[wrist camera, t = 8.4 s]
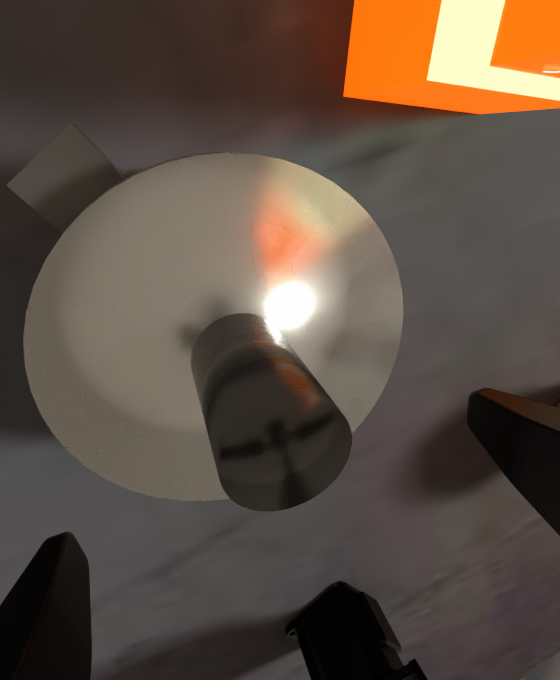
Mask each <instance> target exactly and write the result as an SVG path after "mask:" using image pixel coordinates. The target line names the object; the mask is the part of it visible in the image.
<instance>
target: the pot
mask: <svg viewBox="0 0 560 680" xmlns="http://www.w3.org/2000/svg"><path fill="white" fill-rule="evenodd" d="M124 179H126V177H125V176H124V175H123V174H122V173H121V172H120V171H119V170H118V169H117V168H116V167H115V166H114V165H113V164H112V163H111V162H110V160H109V159H108V158H107V157H106V156H105V155H104V154H103V153H102V152H101V151H100V150H99V149H98V148H97V147H96V146H95V145H94V144H93V142H92V141H91V140H90V139H89V138H88V137H87V136H86V135H85V134H84V133H83V132H82V131H81V130H80V129H79V128H78V127H77V126H76V124H73V123H70V124H69V125H68V126H67V127H66V128H65V129H64V130H63V131H62V132H61V133H60V134H59V135H58V136H57V137H56V138H55V139H54V140H52V141H51V142H50V143H49V144H48V145H47V146H46V147H45V148H44V149H43V150H42V151H41V152H40V153H39V154H38V155H37V156H36V157H35V158H34V159H33V160H32V161H30V162H29V163H28V164H27V165H26V166H25V167H24V168H23V169H22V170H21V171H20V172H19V173H18V174H17V175H16V176H15V177H14V178H13V179H12V180H11V181H10V182H9V183H7V184H6V185H7V186H8V187H9V188H10V189H11V190H12V191H13V192H14V193H16V194H17V195H18V196H19V197H20V198H21V199H22V200H24V201H25V202H26V203H27V204H28V205H29V206H30V207H32V208H33V209H34V210H35V211H36V212H37V213H38V214H40V215H41V216H42V217H43V218H44V219H45V220H46V221H48V222H49V223H50V224H51V225H52V226H53V227H54V228H56V229H57V230H58V231H59V232H60V233H61V234H63V233H64V232H65V230H66V229H67V228H68V226H69V225H70V224H71V223H72V222H73V221H74V220H75V219H76V218H77V217H78V216H79V214H80V213H81V212H82V211H83V210H84V209H85V208H86V207H87V206H88V205H89V204H90V203H92V202H93V201H94V200H95V199H97V198H98V197H99V196H100V195H102V194H103V193H104V192H105V191H106V190H108V189H109V188H110V187H112V186H114V185H115V184H117V183H119V182H120V181H122V180H124ZM358 427H359V426H358ZM358 427H357V428H358ZM357 428H356V429H357ZM356 429H355V430H356Z"/></svg>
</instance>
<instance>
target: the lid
mask: <svg viewBox="0 0 560 680" xmlns="http://www.w3.org/2000/svg"><path fill="white" fill-rule="evenodd" d="M402 323H403V298H402V289H401V283H400V278H399V273H398V269H397V266H396V263H395V261H394V258H393V255H392V252H391V250H390V248H389V246H388V244H387V242H386V240H385V238H384V236H383V234H382V232H381V231H380V229H379V228H378V226H377V225H376V224H375V222H374V221H373V219H372V218H371V217H370V215H369V214H368V213H367V212H366V211H365V210H364V209H363V208H362V207H361V205H360V204H359V203H358V202H357V201H356V200H355V199H354V198H353V197H352V196H350V195H349V194H348V193H346V192H345V191H344V190H343V189H341V188H340V187H339V186H337V185H336V184H335V183H333V182H332V181H330V180H328V179H326V178H325V177H323V176H321V175H319V174H317V173H315V172H314V171H312V170H310V169H307V168H305V167H302V166H299V165H296V164H294V163H291V162H288V161H285V160H281V159H276V158H271V157H266V156H262V155H257V154H248V153H229V152H215V153H204V154H193V155H188V156H184V157H180V158H176V159H171V160H167V161H163V162H161V163H158V164H156V165H153V166H151V167H148V168H146V169H143V170H141V171H138V172H136V173H134V174H132V175H131V176H129V177H127V178H126V179H124V180H122V181H120V182H119V183H117V184H115V185H114V186H112V187H110V188H109V189H108V190H106V191H105V192H104V193H103V194H102V195H100V196H99V197H98V198H97V199H95V200H94V201H93V202H92V203H90V204H89V205H88V206H87V207H86V208H85V209H84V210H83V211H82V212H81V213H80V214H79V216H78V217H77V218H76V219H75V220H74V221H73V222H72V223H71V224H70V225H69V226H68V228H67V229H66V230H65V232H64V233H63V234H62V236H61V237H60V239H59V240H58V242H57V243H56V245H55V246H54V248H53V249H52V251H51V252H50V254H49V255H48V257H47V258H46V260H45V262H44V264H43V266H42V268H41V271H40V273H39V275H38V277H37V279H36V282H35V284H34V286H33V289H32V293H31V297H30V300H29V304H28V308H27V311H26V317H25V327H24V337H23V346H24V361H25V369H26V373H27V378H28V382H29V386H30V390H31V393H32V395H33V398H34V400H35V402H36V405H37V407H38V410H39V412H40V414H41V416H42V417H43V419H44V420H45V422H46V424H47V425H48V427H49V428H50V430H51V432H52V433H53V435H54V436H55V437H56V438H57V439H58V440H59V441H60V443H61V444H62V445H63V446H64V447H65V448H66V450H67V451H68V452H69V453H71V454H72V455H73V456H74V457H75V458H76V459H78V460H79V461H80V462H81V463H82V464H83V465H85V466H86V467H87V468H89V469H91V470H92V471H94V472H95V473H97V474H98V475H100V476H101V477H103V478H105V479H107V480H109V481H111V482H113V483H115V484H117V485H119V486H121V487H124V488H127V489H129V490H132V491H135V492H138V493H141V494H145V495H149V496H154V497H159V498H164V499H172V500H182V501H210V500H219V499H228V498H230V499H231V500H233V501H234V502H235V503H237V504H239V505H241V506H242V507H245V508H248V509H252V510H256V511H278V510H283V509H288V508H291V507H294V506H297V505H300V504H302V503H304V502H306V501H308V500H310V499H312V498H313V497H315V496H316V495H318V494H319V493H321V492H322V491H323V490H325V489H326V488H327V487H328V486H329V485H330V484H331V483H332V482H333V481H334V480H335V479H336V478H337V476H338V475H339V474H340V472H341V471H342V469H343V468H344V466H345V464H346V462H347V460H348V457H349V454H350V451H351V445H352V433H353V432H354V431H355V429H356V428H357V427H358V426H359V425H360V424H361V423H362V421H363V420H364V419H365V417H366V416H367V415H368V413H369V412H370V411H371V409H372V408H373V406H374V405H375V403H376V401H377V400H378V398H379V396H380V395H381V393H382V391H383V389H384V387H385V385H386V383H387V381H388V378H389V376H390V374H391V372H392V369H393V366H394V363H395V360H396V356H397V353H398V349H399V344H400V339H401V334H402Z"/></svg>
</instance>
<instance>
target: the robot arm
mask: <svg viewBox="0 0 560 680" xmlns="http://www.w3.org/2000/svg"><path fill="white" fill-rule="evenodd" d="M467 424H468V427H469V428H470V430H471V431H472V433H473V434H474V435H475V437H476V438H477V439H478V441H479V442H480V443H481V445H482V446H483V447H484V448H485V450H486V451H487V452H488V454H489V455H490V456H491V458H492V459H493V460H494V462H495V463H496V464H497V466H498V467H499V468H500V469H501V471H502V472H503V473H504V475H505V476H506V477H507V478H508V480H509V481H510V482H511V483H512V484H513V485H514V487H515V488H516V489H517V490H518V491H519V492H520V493H521V494H522V495H523V496H524V498H525V499H526V500H527V501H528V502H529V503H530V504H531V505H532V506H533V507H534V508H535V510H536V511H537V512H538V513H539V514H540V515H541V516H542V517H543V518H544V519H545V520H546V521H547V523H548V524H549V525H550V526H551V527H552V528H553V529H554V530H555V531H556V532H557V533H558V534H559V536H560V408H558V407H554V406H551V405H547V404H544V403H540V402H537V401H533V400H530V399H526V398H523V397H519V396H515V395H512V394H508V393H505V392H501V391H498V390H494V389H491V388H483V389H480V390H477V391H474V392H472V393H471V394H470V396H469V400H468V409H467ZM285 632H286V635H287V637H288V638H290V639H293V640H295V641H297V642H299V645H300V648H301V651H302V654H303V657H304V660H305V663H306V666H307V669H308V672H309V675H310V678H311V680H427V678H426V676H425V675H424V673H423V671H422V670H421V668H420V666H419V665H418V663H417V661H416V660H415V658H414V659H413V660H411V661H409V664H407V665H405V666H403V664H402V662H401V660H400V658H399V656H398V654H399V653H400V652H401V646H400V644H399V642H398V640H397V638H396V636H395V634H394V632H393V630H392V629H391V627H390V625H389V623H388V621H387V619H386V617H385V615H384V614H383V612H382V610H381V608H380V606H379V604H378V602H377V601H376V600H375V599H373V598H372V597H370V596H369V595H367V594H366V593H364V592H361V591H358V590H357V589H355V588H353V587H352V586H350V585H349V584H347V583H345V582H343V583H340V584H339V585H337V586H336V587H335V588H334V589H332V590H331V591H330V592H329V593H328V594H327V595H325V596H324V597H323V598H322V599H321V600H319V601H318V602H317V603H316V604H315V605H313V606H312V607H311V608H310V609H309V610H307V611H306V612H305V613H304V614H303V615H301V616H300V617H299V618H298V619H297V620H295V621H294V622H293V623H292V624H291V625H289V626H288V627H287V628H286V630H285ZM91 659H92V637H91V609H90V581H89V565H88V560H87V557H86V555H85V554H84V552H83V550H82V548H81V547H80V545H79V543H78V542H77V540H76V538H75V536H74V535H73V534H72V533H71V532H64V533H61V534H58V535H55V536H52V537H49V538H48V539H46V540H45V541H44V543H43V544H42V545H41V547H40V548H39V550H38V551H37V553H36V554H35V556H34V557H33V558H32V560H31V561H30V563H29V564H28V566H27V567H26V569H25V570H24V572H23V573H22V574H21V576H20V577H19V579H18V580H17V582H16V583H15V585H14V586H13V588H12V589H11V590H10V592H9V593H8V595H7V596H6V598H5V599H4V601H3V602H2V604H1V605H0V680H90V676H91Z"/></svg>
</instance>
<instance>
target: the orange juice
mask: <svg viewBox="0 0 560 680" xmlns="http://www.w3.org/2000/svg"><path fill="white" fill-rule="evenodd" d="M343 97H351V98H359V99H366V100H374V101H382V102H390V103H397V104H405V105H413V106H421V107H428V108H436V109H444V110H452V111H459V112H467V113H475V114H488V113H501V112H514V111H527V110H540V109H554V108H560V0H355V1H354V10H353V18H352V27H351V35H350V44H349V52H348V61H347V69H346V78H345V86H344V95H343Z"/></svg>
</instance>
